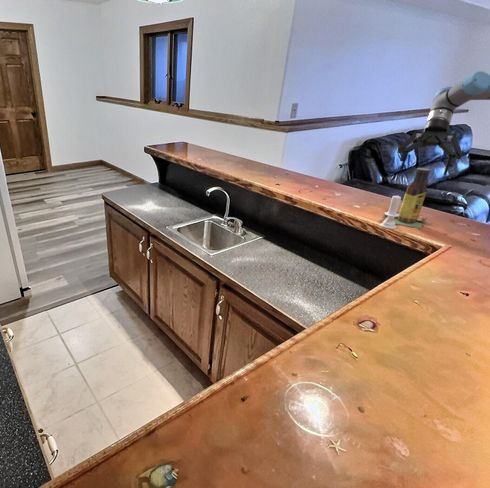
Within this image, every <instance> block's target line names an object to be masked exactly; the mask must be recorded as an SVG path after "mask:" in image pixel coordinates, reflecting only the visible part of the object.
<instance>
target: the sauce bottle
mask: <svg viewBox="0 0 490 488" xmlns="http://www.w3.org/2000/svg"><path fill="white" fill-rule="evenodd" d="M430 172H431V169H429V168H427V167H425V168H424V167H417V168H416V169H415V176H414V178H413V181H411V182H410V183H408V185H407V187H406V191H405V193H404V196H403V199H402V201H401V204H400V205H401V206H400V208H399V211H398V214H399V216H398V220H399V221H402V222H405V223H415V222H416V220H418V219H419V216H420V212H421V210H422V207H423V205H424V201H425V198H426V195H427V193H428V191H427V190H428V189H427V180H428V176H429V175H430Z"/></svg>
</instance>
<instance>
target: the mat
mask: <svg viewBox="0 0 490 488" xmlns="http://www.w3.org/2000/svg"><path fill="white" fill-rule="evenodd" d="M387 218H388V216H387V215H386V214H385V217H384V220H383V221H385V220H386V219H387ZM394 222H395V225H399V226H404V227H409V228H414V229H418V230H422V229H423V223H424V221H423V220H418V219H417V220H416V222H415V223H405V222H402V221H399V220H398V217H394Z"/></svg>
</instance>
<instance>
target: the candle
mask: <svg viewBox="0 0 490 488" xmlns="http://www.w3.org/2000/svg"><path fill="white" fill-rule="evenodd" d="M401 200H402V197H401V196H399V194H397V195H392V197H391V200H390V204H389V208H388V210H387V211H385V212H384V215H385V216H386V215H387V216H388V218H387V219H386V220H385V221H384V220H383V221H382V222H381V223H380V224H379V226H381V228H385V229H391V230H394V229H397V228H398V227H397V224H395V222H394V217H398V216H399V213H397V212H398V209H399V206H400V205H401V202H402V201H401Z"/></svg>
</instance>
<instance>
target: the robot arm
mask: <svg viewBox="0 0 490 488" xmlns="http://www.w3.org/2000/svg"><path fill="white" fill-rule="evenodd" d="M470 101H490V74H489V73H488V72H485V71H476V72H474V73H473V74H470V75H469V76H467V77H465V78H464V79H463V80H461V81H459V82H458V83H457V84H455V85H454V86H446V87H442V88H440V89H438V90H437V92H436V94H435V95H434V98H433V100H432V103H431V106H430V110H429V114H428V117H427V119H426V123H425V125H424V129H423V131H422V132H421V133H420V132H418V130H414V131H413V133H412V135H410V137H408V138H407V139H406V140H405V141H404V142H403V143H402V144H401V145H400V146H399V147H398V148H397V152H396V153H397V154H401V155H400V158H399V161H400V162H402V163H401V166H400V171H404V168H405V164H406V162H407V158H408V156H409V153H411V152H412V151H414V150H416V149H418V148H419V147H422V146H424V145H425V146H432V147H436V146H438V148H439V149H441V150H442V151H443V152H444V153H445V155H446V156H447V157H448V158H447V161H446V164H445V168H444V172H443V176H447V173H448V171H449V168H451V167H453V166H454V164H455V161H456V160H461V159H462V157H463V155H464V153H463V150H462V148H461V146H460V144H459V141H458V134H457V133H453V134H452V135H448V131H449V129H450V125H451V122H452V118H453V115H454V112H455V110H456V109H457V108H459V107H461V106H463V105H464V104H466V103H467V102H470ZM418 138H419V139H418ZM417 139H418V140H417ZM415 140H417V141H415ZM446 140H448V142H449V143H450V145H451V146H449V144H448V143H447V141H446ZM414 141H415V142H414ZM451 147H452V148H451Z"/></svg>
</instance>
